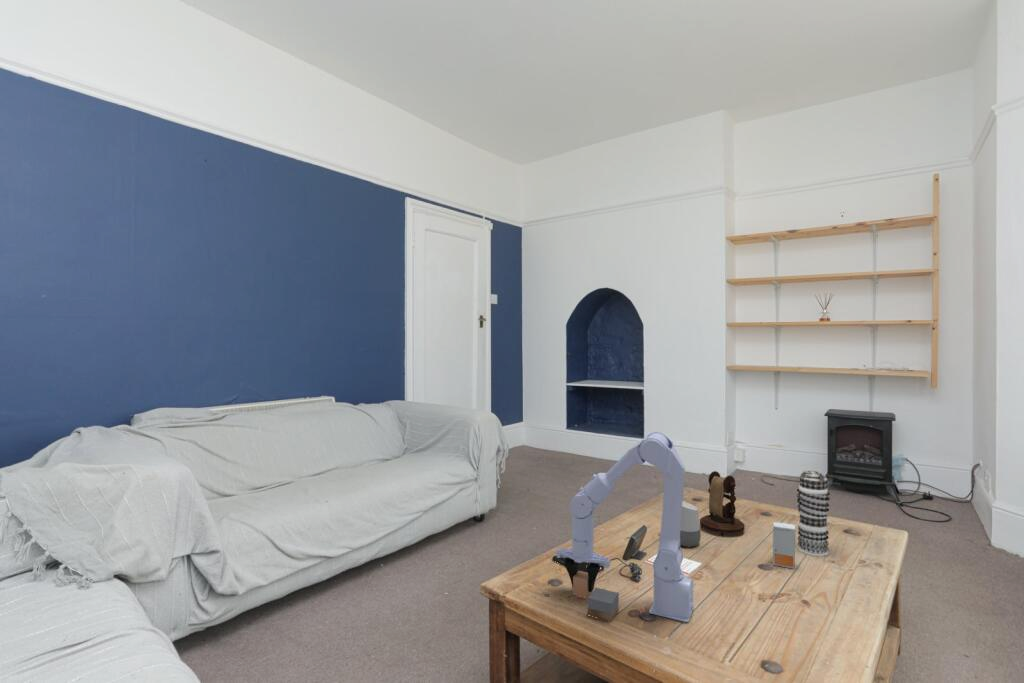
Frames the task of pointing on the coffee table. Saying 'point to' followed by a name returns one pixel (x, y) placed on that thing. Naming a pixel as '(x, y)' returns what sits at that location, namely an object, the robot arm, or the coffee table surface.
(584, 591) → the terracotta block
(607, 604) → the charcoal slab
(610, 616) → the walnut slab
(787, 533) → the skincare box
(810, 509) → the decorative candle
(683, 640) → the coffee table surface
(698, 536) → the smart speaker
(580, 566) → the phone
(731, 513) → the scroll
